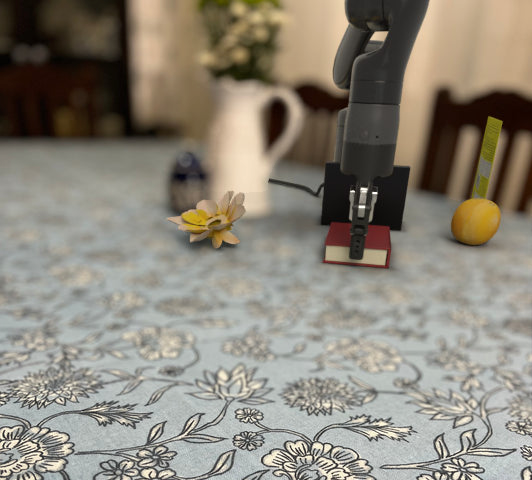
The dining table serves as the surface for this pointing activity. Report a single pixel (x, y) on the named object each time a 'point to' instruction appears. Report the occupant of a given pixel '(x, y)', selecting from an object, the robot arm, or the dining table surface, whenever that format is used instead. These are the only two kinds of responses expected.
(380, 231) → the book
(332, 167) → the bookend
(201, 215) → the decorative flower
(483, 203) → the fruit
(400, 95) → the robot arm
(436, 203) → the dining table surface
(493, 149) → the food package
